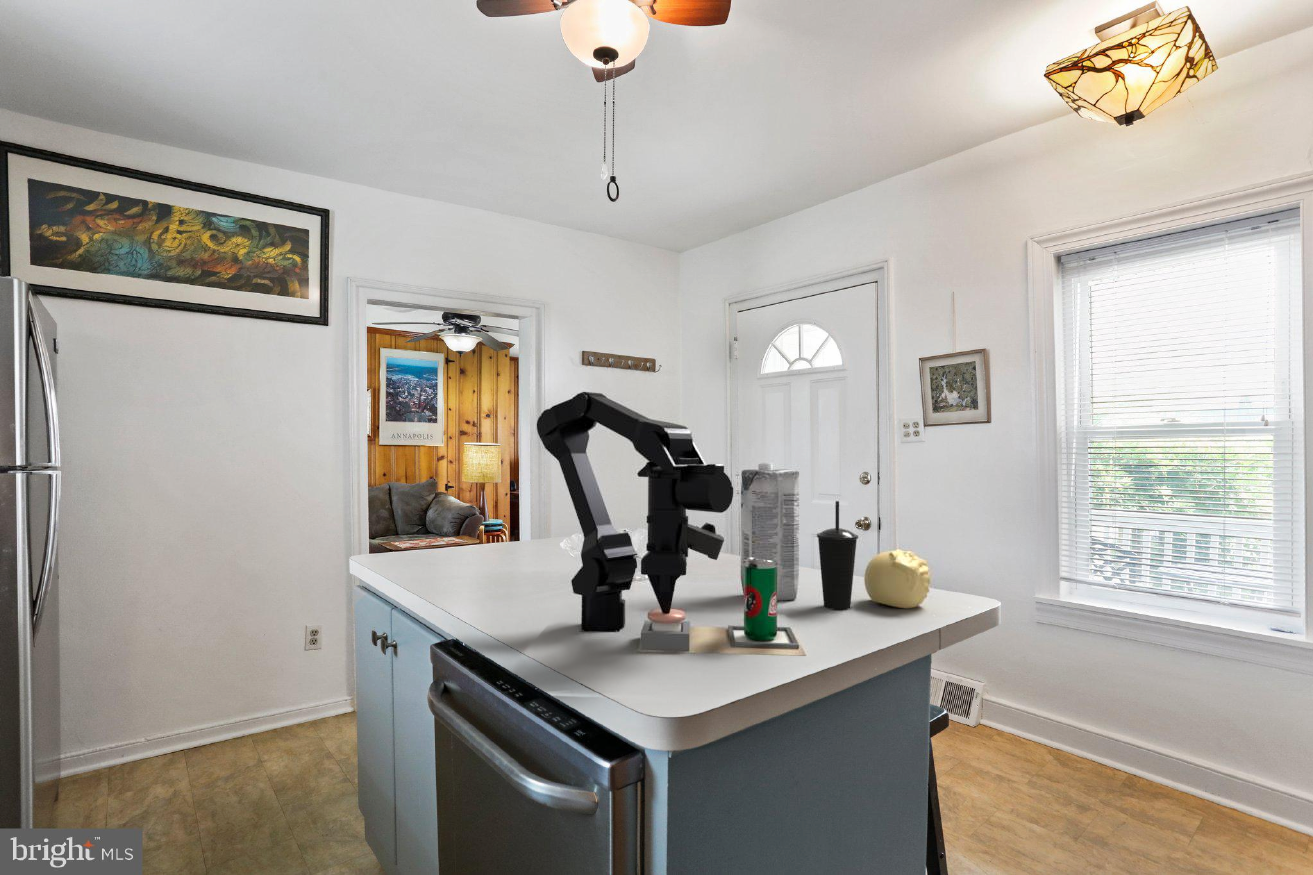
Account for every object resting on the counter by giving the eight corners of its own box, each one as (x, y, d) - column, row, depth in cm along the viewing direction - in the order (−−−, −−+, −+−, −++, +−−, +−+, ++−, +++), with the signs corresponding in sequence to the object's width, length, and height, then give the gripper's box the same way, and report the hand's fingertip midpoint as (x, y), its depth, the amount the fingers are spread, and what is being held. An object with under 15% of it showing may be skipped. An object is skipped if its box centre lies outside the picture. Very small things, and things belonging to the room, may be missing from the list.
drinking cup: (843, 613, 121) (843, 503, 121) (808, 606, 127) (808, 500, 127) (866, 607, 126) (866, 501, 126) (831, 600, 132) (831, 499, 132)
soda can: (776, 643, 100) (776, 562, 100) (742, 641, 101) (742, 561, 101) (777, 634, 105) (777, 557, 105) (745, 632, 106) (745, 556, 106)
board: (636, 655, 96) (636, 646, 96) (644, 629, 110) (644, 621, 110) (806, 659, 94) (806, 651, 94) (792, 632, 108) (792, 625, 108)
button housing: (640, 650, 96) (640, 632, 96) (644, 636, 103) (644, 620, 103) (689, 651, 96) (689, 633, 96) (689, 637, 103) (690, 621, 103)
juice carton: (803, 600, 131) (804, 463, 132) (754, 603, 128) (755, 463, 129) (782, 591, 140) (783, 462, 140) (736, 594, 137) (737, 462, 137)
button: (645, 647, 97) (646, 617, 97) (648, 636, 102) (649, 608, 102) (684, 648, 96) (684, 618, 97) (685, 637, 102) (685, 609, 102)
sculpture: (923, 615, 121) (923, 555, 121) (857, 606, 127) (857, 549, 127) (936, 603, 130) (936, 548, 130) (873, 595, 137) (873, 543, 137)
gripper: (723, 515, 90) (722, 631, 90) (719, 503, 109) (718, 600, 108) (640, 513, 91) (640, 629, 90) (651, 503, 109) (650, 598, 109)
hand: (666, 612), depth 100 cm, fingers closed
